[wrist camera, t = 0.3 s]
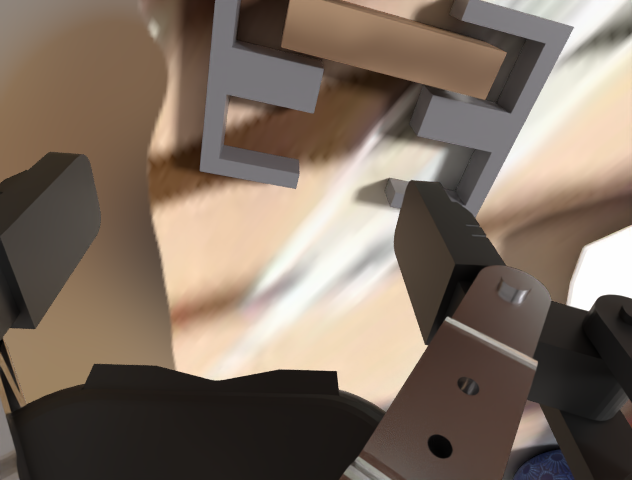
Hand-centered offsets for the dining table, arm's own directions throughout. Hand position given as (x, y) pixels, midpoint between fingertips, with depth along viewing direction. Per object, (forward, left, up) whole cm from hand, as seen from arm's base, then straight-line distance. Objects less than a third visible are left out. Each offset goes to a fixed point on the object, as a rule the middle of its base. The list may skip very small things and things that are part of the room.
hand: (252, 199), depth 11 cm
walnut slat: (-1, +8, -28) cm, 29 cm away
